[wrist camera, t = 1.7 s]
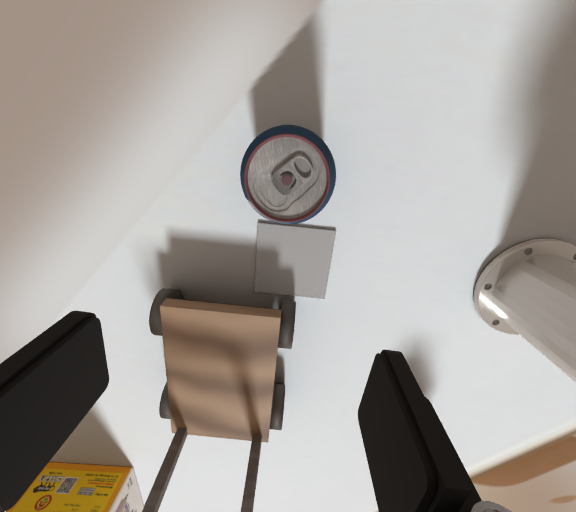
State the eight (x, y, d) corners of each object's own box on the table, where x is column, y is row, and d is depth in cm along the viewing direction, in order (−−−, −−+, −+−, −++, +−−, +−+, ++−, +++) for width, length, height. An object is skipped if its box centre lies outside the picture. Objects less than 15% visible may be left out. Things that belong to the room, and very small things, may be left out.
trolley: (169, 279, 35) (12, 441, 16) (295, 291, 35) (292, 469, 16) (178, 394, 42) (79, 598, 23) (282, 404, 42) (268, 617, 23)
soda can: (285, 212, 31) (278, 249, 20) (245, 161, 29) (213, 170, 18) (336, 173, 29) (360, 190, 18) (297, 116, 27) (297, 96, 16)
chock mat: (335, 230, 32) (336, 231, 31) (324, 297, 35) (324, 298, 35) (258, 222, 32) (257, 223, 31) (254, 290, 35) (254, 291, 35)
